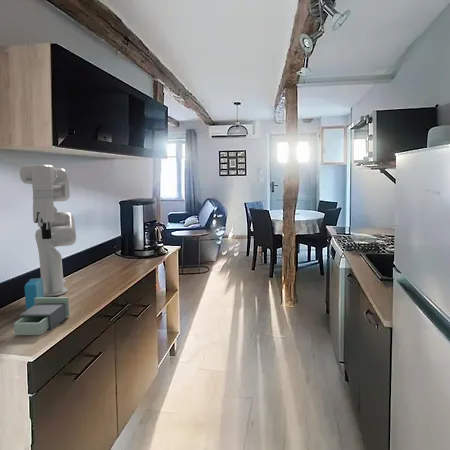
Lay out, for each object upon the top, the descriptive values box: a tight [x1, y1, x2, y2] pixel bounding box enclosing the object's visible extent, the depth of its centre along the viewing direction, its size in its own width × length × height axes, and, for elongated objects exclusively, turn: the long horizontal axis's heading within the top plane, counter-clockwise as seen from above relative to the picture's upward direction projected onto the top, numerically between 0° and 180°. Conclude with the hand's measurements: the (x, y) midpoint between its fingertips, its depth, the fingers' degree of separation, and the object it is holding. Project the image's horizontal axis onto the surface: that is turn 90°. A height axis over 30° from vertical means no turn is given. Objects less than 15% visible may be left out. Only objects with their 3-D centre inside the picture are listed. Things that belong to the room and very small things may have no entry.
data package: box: [24, 277, 44, 311], centre depth 162 cm, size 12×4×12 cm, turn 14°
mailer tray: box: [13, 296, 71, 336], centre depth 143 cm, size 19×13×8 cm
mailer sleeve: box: [19, 303, 67, 331], centre depth 145 cm, size 12×11×6 cm
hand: (46, 238), depth 163 cm, fingers closed
